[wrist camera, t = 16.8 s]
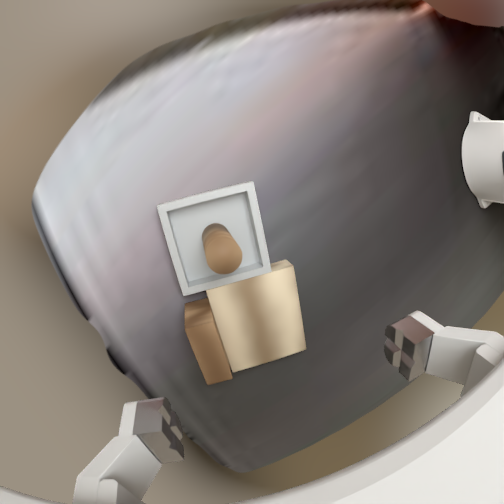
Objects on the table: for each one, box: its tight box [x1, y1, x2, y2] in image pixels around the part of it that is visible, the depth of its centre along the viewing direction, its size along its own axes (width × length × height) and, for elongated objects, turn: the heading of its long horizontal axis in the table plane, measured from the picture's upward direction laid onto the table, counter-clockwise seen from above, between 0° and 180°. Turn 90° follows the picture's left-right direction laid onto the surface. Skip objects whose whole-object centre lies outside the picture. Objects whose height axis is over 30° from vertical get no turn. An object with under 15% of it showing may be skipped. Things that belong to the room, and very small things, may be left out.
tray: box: [157, 181, 272, 296], centre depth 30 cm, size 10×10×2 cm
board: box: [206, 260, 306, 372], centre depth 34 cm, size 10×12×3 cm
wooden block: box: [185, 298, 233, 385], centre depth 31 cm, size 3×8×6 cm, turn 12°
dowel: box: [202, 223, 242, 274], centre depth 27 cm, size 3×3×8 cm
